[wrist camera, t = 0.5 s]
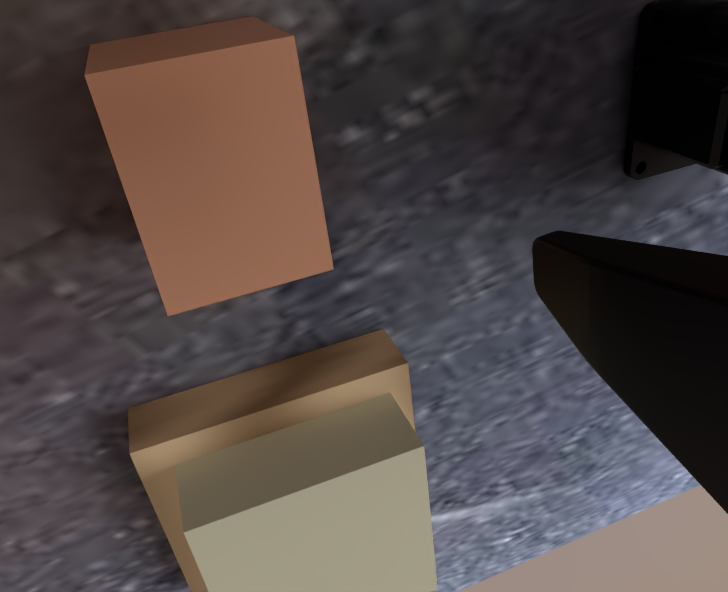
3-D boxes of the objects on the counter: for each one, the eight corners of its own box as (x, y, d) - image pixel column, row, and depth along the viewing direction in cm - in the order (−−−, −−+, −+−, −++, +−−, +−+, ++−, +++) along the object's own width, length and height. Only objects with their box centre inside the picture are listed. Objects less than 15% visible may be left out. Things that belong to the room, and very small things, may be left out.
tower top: (390, 392, 23) (424, 446, 21) (408, 530, 27) (437, 588, 25) (174, 464, 21) (183, 532, 19) (229, 601, 25) (242, 671, 23)
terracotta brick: (251, 15, 18) (293, 35, 14) (289, 206, 21) (333, 269, 17) (89, 44, 17) (84, 75, 13) (155, 240, 20) (168, 316, 16)
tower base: (378, 322, 25) (407, 362, 23) (400, 489, 30) (426, 537, 28) (127, 398, 23) (129, 453, 20) (197, 565, 28) (206, 624, 26)
